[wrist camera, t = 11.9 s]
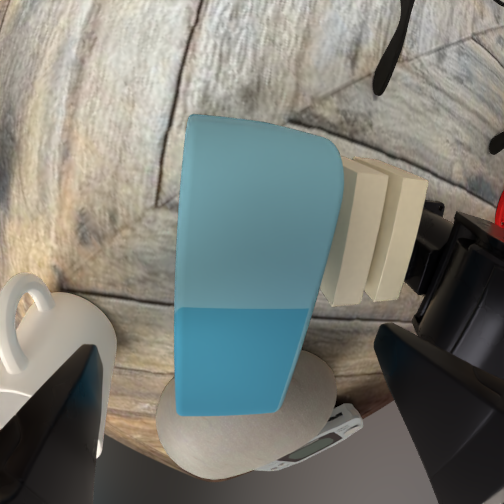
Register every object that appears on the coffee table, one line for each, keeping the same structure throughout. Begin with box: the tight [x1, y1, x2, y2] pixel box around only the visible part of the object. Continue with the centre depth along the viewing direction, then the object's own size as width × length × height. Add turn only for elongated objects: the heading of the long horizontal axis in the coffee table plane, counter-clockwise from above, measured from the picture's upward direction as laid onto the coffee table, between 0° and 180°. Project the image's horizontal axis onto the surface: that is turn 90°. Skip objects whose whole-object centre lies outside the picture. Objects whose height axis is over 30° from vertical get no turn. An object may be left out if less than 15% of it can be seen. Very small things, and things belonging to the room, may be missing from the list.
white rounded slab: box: [156, 350, 337, 479], centre depth 26 cm, size 19×7×16 cm
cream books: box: [320, 155, 428, 307], centre depth 20 cm, size 5×8×6 cm, turn 177°
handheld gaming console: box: [254, 403, 363, 471], centre depth 33 cm, size 14×3×8 cm
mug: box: [0, 272, 117, 458], centre depth 17 cm, size 12×8×10 cm
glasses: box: [373, 0, 504, 155], centre depth 15 cm, size 17×18×5 cm
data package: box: [174, 114, 344, 416], centre depth 15 cm, size 12×4×12 cm, turn 172°
